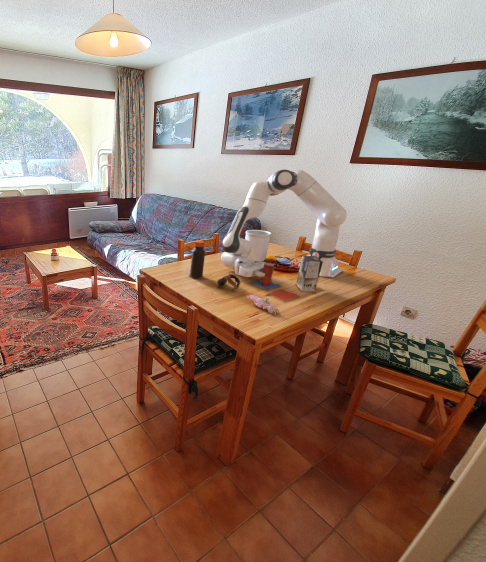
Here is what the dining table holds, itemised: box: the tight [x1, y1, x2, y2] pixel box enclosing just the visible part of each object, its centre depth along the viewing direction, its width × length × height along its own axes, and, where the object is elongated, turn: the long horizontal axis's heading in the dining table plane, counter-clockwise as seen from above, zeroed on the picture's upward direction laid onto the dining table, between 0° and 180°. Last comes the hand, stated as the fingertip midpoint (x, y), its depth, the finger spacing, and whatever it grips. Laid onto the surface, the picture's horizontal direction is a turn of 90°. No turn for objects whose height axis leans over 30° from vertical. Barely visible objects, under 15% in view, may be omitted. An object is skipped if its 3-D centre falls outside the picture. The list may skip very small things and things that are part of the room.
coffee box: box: [295, 255, 323, 292], centre depth 154 cm, size 9×6×16 cm
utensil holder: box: [244, 229, 272, 263], centre depth 198 cm, size 15×15×18 cm
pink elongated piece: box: [247, 294, 281, 316], centre depth 136 cm, size 6×6×15 cm
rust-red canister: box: [260, 262, 275, 286], centre depth 159 cm, size 5×5×11 cm
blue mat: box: [251, 279, 281, 290], centre depth 161 cm, size 10×10×1 cm
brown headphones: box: [217, 273, 241, 292], centre depth 156 cm, size 12×10×8 cm
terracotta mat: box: [268, 289, 299, 302], centre depth 149 cm, size 11×9×1 cm
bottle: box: [189, 240, 206, 279], centre depth 169 cm, size 7×7×20 cm
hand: (268, 273), depth 158 cm, fingers closed on rust-red canister, 5 cm apart
